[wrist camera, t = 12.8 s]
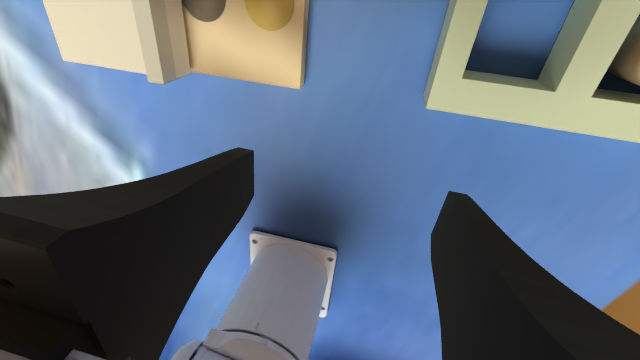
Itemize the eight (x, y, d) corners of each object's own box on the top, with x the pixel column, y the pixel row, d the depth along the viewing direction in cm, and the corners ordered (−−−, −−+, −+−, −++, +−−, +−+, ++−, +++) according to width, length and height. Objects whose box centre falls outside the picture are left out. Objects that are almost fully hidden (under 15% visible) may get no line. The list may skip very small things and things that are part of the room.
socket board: (663, 133, 17) (698, 152, 15) (423, 95, 19) (425, 108, 17) (799, -46, 13) (872, -53, 11) (469, -73, 14) (481, -83, 12)
